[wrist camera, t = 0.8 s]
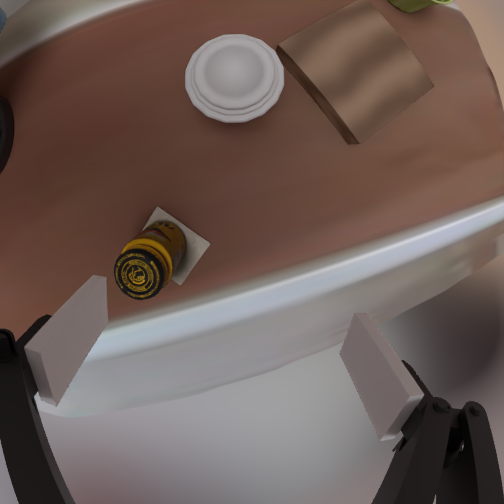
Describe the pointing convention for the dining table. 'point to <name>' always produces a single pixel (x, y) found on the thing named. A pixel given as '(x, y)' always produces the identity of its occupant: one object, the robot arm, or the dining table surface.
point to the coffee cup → (234, 78)
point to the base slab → (355, 69)
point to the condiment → (158, 256)
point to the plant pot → (416, 4)
